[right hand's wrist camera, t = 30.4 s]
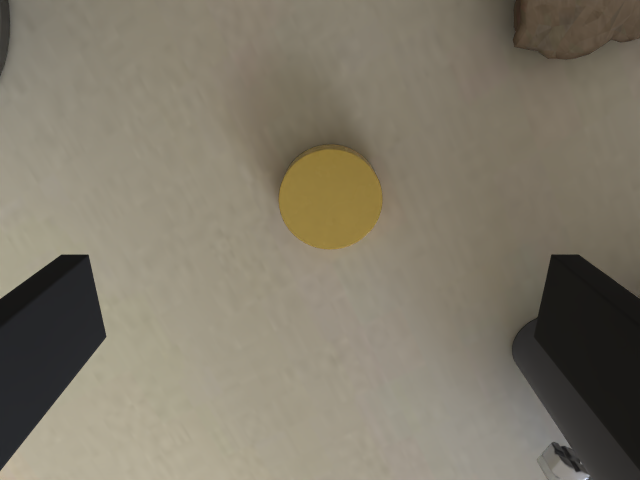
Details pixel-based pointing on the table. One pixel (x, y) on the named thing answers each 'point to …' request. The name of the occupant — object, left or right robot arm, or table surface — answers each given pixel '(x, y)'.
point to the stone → (574, 25)
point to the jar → (571, 412)
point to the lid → (330, 197)
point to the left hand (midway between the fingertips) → (592, 410)
